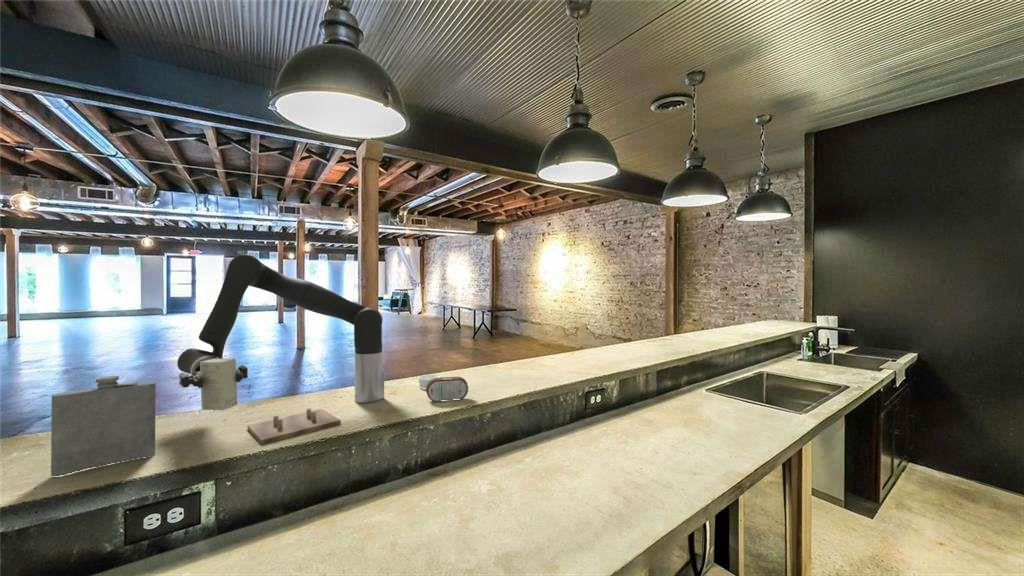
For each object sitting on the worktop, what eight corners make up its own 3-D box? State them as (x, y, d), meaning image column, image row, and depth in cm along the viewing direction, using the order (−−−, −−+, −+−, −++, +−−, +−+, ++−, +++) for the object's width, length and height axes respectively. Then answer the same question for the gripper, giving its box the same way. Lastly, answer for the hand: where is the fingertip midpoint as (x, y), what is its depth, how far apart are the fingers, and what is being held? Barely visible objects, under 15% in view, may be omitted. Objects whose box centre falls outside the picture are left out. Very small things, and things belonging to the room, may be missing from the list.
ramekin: (443, 388, 149) (443, 377, 149) (422, 391, 144) (422, 380, 144) (436, 383, 157) (436, 373, 157) (415, 386, 152) (415, 376, 152)
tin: (467, 397, 136) (467, 375, 136) (468, 400, 133) (468, 377, 133) (426, 401, 132) (426, 377, 132) (426, 403, 129) (426, 379, 129)
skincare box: (237, 405, 94) (237, 358, 94) (222, 411, 90) (222, 361, 90) (215, 404, 95) (215, 357, 95) (199, 410, 91) (199, 361, 91)
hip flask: (49, 480, 77) (50, 384, 77) (53, 472, 80) (54, 381, 80) (155, 456, 88) (155, 373, 88) (155, 450, 91) (155, 370, 91)
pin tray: (321, 412, 119) (321, 401, 119) (340, 424, 109) (340, 411, 109) (247, 429, 105) (247, 416, 105) (261, 444, 95) (261, 430, 95)
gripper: (174, 360, 97) (181, 370, 86) (240, 353, 108) (255, 361, 96) (174, 388, 97) (181, 402, 86) (240, 378, 108) (255, 389, 96)
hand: (220, 380), depth 91 cm, fingers closed on skincare box, 7 cm apart
